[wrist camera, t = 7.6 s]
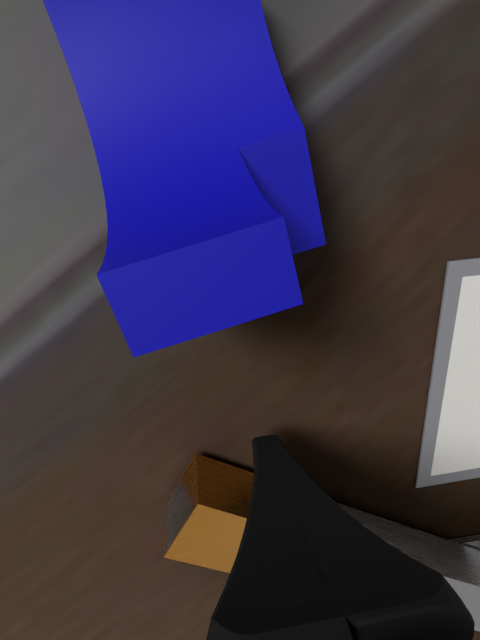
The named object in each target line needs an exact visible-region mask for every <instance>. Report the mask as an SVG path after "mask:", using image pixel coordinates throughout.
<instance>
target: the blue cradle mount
mask: <svg viewBox="0 0 480 640" xmlns="http://www.w3.org/2000/svg"><path fill="white" fill-rule="evenodd" d="M43 2H44V4H45V7H46V9H47V12H48V14H49V17H50V20H51V22H52V25H53V27H54V30H55V32H56V35H57V38H58V40H59V43H60V46H61V48H62V51H63V54H64V56H65V59H66V62H67V64H68V67H69V70H70V73H71V76H72V79H73V81H74V84H75V87H76V90H77V93H78V96H79V99H80V102H81V105H82V108H83V111H84V115H85V118H86V121H87V124H88V128H89V131H90V135H91V138H92V142H93V145H94V149H95V153H96V157H97V161H98V165H99V169H100V174H101V179H102V183H103V189H104V195H105V201H106V210H107V222H108V240H107V248H106V255H105V258H104V261H103V264H102V266H101V268H100V270H99V271H98V273H97V277H98V279H99V281H100V283H101V286H102V288H103V290H104V292H105V294H106V297H107V299H108V301H109V303H110V306H111V308H112V310H113V312H114V315H115V317H116V319H117V321H118V323H119V326H120V328H121V330H122V332H123V335H124V337H125V339H126V341H127V344H128V346H129V348H130V350H131V352H132V355H133V357H136V356H139V355H143V354H146V353H149V352H152V351H155V350H159V349H162V348H165V347H168V346H171V345H174V344H178V343H181V342H184V341H187V340H190V339H193V338H197V337H200V336H203V335H206V334H209V333H213V332H216V331H219V330H222V329H225V328H228V327H232V326H235V325H238V324H241V323H244V322H248V321H251V320H254V319H257V318H260V317H263V316H267V315H270V314H273V313H276V312H279V311H282V310H286V309H289V308H292V307H295V306H298V305H302V304H303V300H302V296H301V291H300V287H299V283H298V278H297V274H296V269H295V265H294V260H293V256H292V255H294V254H297V253H300V252H304V251H307V250H310V249H313V248H316V247H320V246H323V245H326V242H325V237H324V231H323V226H322V221H321V215H320V210H319V204H318V199H317V194H316V188H315V183H314V177H313V172H312V167H311V161H310V156H309V151H308V145H307V140H306V134H305V129H304V126H303V124H302V122H301V120H300V118H299V116H298V114H297V112H296V110H295V108H294V105H293V103H292V100H291V98H290V96H289V93H288V91H287V88H286V85H285V83H284V80H283V77H282V75H281V72H280V69H279V66H278V63H277V59H276V56H275V53H274V50H273V47H272V43H271V40H270V36H269V33H268V29H267V25H266V21H265V17H264V13H263V10H262V6H261V1H260V0H43Z"/></svg>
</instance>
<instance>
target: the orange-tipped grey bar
mask: <svg viewBox="0 0 480 640" xmlns="http://www.w3.org/2000/svg"><path fill="white" fill-rule="evenodd" d="M253 479H254V473H252V472H249V471H247V470H244V469H241V468H238V467H235V466H232V465H229V464H226V463H223V462H220V461H217V460H214V459H211V458H208V457H205V456H202V455H199V454H195V455H194V457H193V459H192V460H191V462H190V463H189V465H188V467H187V468H186V470H185V472H184V473H183V475H182V477H181V478H180V480H179V482H178V483H177V485H176V486H175V488H174V490H173V491H172V493H171V495H170V496H169V498H168V500H167V501H166V522H165V543H164V557H165V558H169V559H173V560H177V561H181V562H185V563H190V564H194V565H198V566H202V567H206V568H210V569H214V570H219V571H223V572H227V573H230V572H231V570H232V567H233V564H234V561H235V559H236V556H237V553H238V549H239V546H240V543H241V539H242V536H243V532H244V528H245V524H246V520H247V516H248V511H249V506H250V500H251V494H252V488H253ZM337 504H338V505H339V506H340V507H341V508H342V509H344V510H345V511H346V512H347V513H348V514H349V515H351V516H352V517H353V518H354V519H356V520H357V521H358V522H359V523H361V524H362V525H363V526H365V527H366V528H367V529H369V530H370V531H372V532H373V533H374V534H376V535H377V536H379V537H380V538H381V539H383V540H384V541H386V542H387V543H389V544H390V545H392V546H393V547H395V548H396V549H398V550H400V551H401V552H403V553H404V554H406V555H408V556H409V557H411V558H413V559H415V560H417V561H419V562H420V563H422V564H424V565H426V566H428V567H430V568H431V569H433V570H435V571H437V572H439V573H441V574H442V575H443V576H444V578H445V579H446V580H447V581H448V583H449V584H450V585H451V586H452V588H453V589H454V590H455V592H456V593H457V594H458V595H459V597H460V598H461V600H462V601H463V603H464V604H465V606H466V607H467V609H468V610H469V612H470V613H471V615H472V617H473V620H474V622H475V626H474V630H476V631H480V551H479V550H476V549H473V548H470V547H467V546H464V545H461V544H458V543H455V542H452V541H449V540H446V539H443V538H440V537H437V536H434V535H431V534H428V533H425V532H422V531H419V530H416V529H413V528H410V527H408V526H405V525H402V524H399V523H396V522H393V521H390V520H387V519H384V518H381V517H378V516H375V515H372V514H369V513H366V512H363V511H360V510H357V509H354V508H351V507H348V506H345V505H342V504H339V503H337Z"/></svg>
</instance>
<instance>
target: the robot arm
mask: <svg viewBox="0 0 480 640" xmlns="http://www.w3.org/2000/svg"><path fill="white" fill-rule="evenodd" d="M252 449H253V463H254V479H253V488H252V494H251V500H250V506H249V511H248V516H247V520H246V524H245V528H244V532H243V536H242V539H241V543H240V546H239V549H238V553H237V556H236V559H235V561H234V564H233V567H232V570H231V572H230V575H229V578H228V580H227V583H226V585H225V588H224V590H223V593H222V595H221V597H220V599H219V602H218V604H217V606H216V608H215V610H214V613H213V615H212V617H211V622H210V626H209V630H208V635H207V639H206V640H472V639H473V635H474V626H475V622H474V620H473V617H472V615H471V613H470V612H469V610H468V609H467V607H466V606H465V604H464V603H463V601H462V600H461V598H460V597H459V595H458V594H457V593H456V592H455V590H454V589H453V588H452V586H451V585H450V584H449V583H448V581H447V580H446V579H445V578H444V576H443V575H442V574H441V573H439V572H437V571H435V570H433V569H431V568H430V567H428V566H426V565H424V564H422V563H420V562H419V561H417V560H415V559H413V558H411V557H409V556H408V555H406V554H404V553H403V552H401V551H400V550H398V549H396V548H395V547H393V546H392V545H390V544H389V543H387V542H386V541H384V540H383V539H381V538H380V537H379V536H377V535H376V534H374V533H373V532H372V531H370V530H369V529H367V528H366V527H365V526H363V525H362V524H361V523H359V522H358V521H357V520H356V519H354V518H353V517H352V516H351V515H349V514H348V513H347V512H346V511H345V510H344V509H342V508H341V507H340V506H339V505H338V504H337V503H336V502H334V501H333V500H332V499H331V498H330V497H329V496H328V495H327V494H326V493H325V492H324V491H323V490H322V489H321V488H320V487H319V486H318V485H317V484H316V483H315V482H314V481H313V480H312V479H311V478H310V476H309V475H308V474H307V473H306V472H305V471H304V470H303V469H302V467H301V466H300V465H299V464H298V463H297V462H296V460H295V459H294V458H293V457H292V455H291V454H290V453H289V451H288V450H287V449H286V447H285V446H284V445H283V443H282V442H281V440H280V439H279V437H278V436H276V435H269V436H262V437H255V438H254V439H253V440H252Z"/></svg>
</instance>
